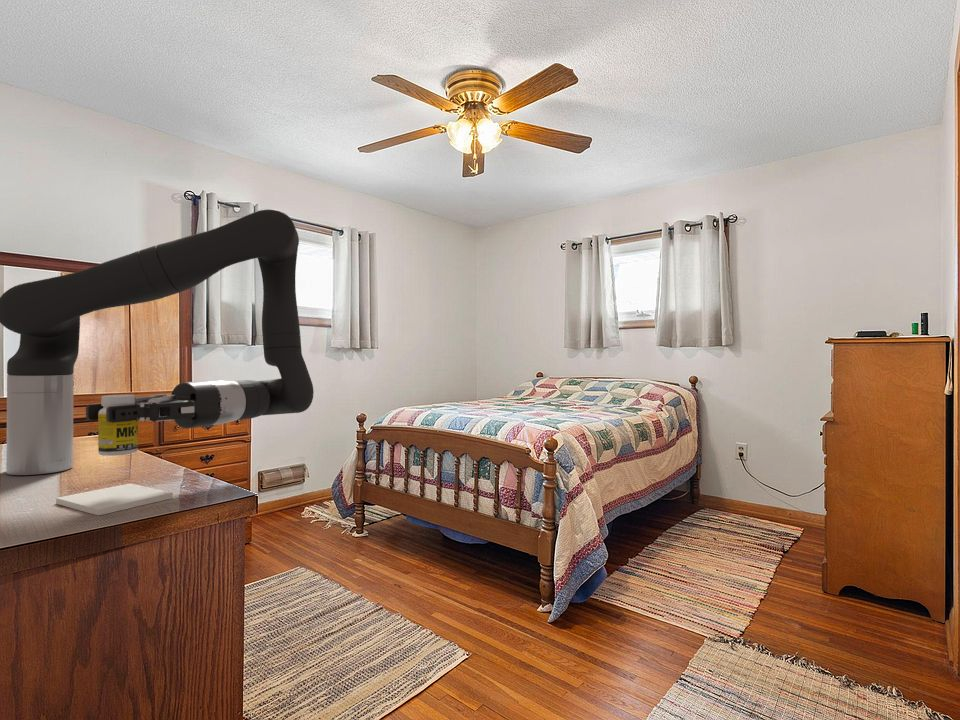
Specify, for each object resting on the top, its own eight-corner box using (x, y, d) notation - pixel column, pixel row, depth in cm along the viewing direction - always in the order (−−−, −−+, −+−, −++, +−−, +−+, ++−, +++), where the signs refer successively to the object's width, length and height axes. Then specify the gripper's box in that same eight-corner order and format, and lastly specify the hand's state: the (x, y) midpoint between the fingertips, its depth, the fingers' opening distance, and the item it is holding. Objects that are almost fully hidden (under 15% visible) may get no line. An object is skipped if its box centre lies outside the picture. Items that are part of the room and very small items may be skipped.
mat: (56, 503, 75) (56, 497, 75) (130, 488, 84) (130, 483, 84) (98, 515, 70) (98, 509, 70) (172, 498, 79) (172, 492, 79)
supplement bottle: (118, 457, 74) (117, 397, 74) (90, 455, 75) (89, 396, 75) (146, 450, 79) (145, 394, 79) (119, 449, 80) (118, 393, 80)
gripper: (182, 379, 93) (70, 385, 78) (237, 382, 86) (125, 388, 71) (183, 422, 93) (71, 436, 78) (237, 428, 86) (126, 444, 71)
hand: (98, 413), depth 74 cm, fingers closed on supplement bottle, 4 cm apart
